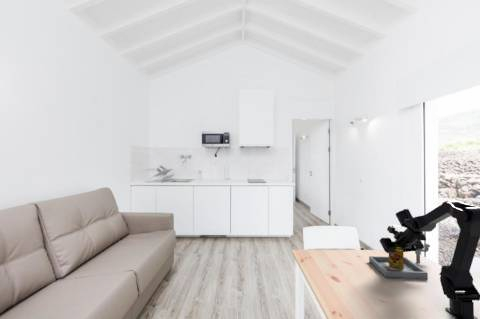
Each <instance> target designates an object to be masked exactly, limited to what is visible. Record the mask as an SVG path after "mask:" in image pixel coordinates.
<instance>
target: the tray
mask: <svg viewBox="0 0 480 319" xmlns="http://www.w3.org/2000/svg"><path fill="white" fill-rule="evenodd" d="M368 262H369V264H370V265H371V266H372V267H374V269H376V270H377V271H378V272H379V273H380V274H381V275H382V276H383V277H384V278H385V279H398V280H399V279H400V280H401V279H404V280H428V278H429V277H428V276H429V275H428V272H427V271H426V270H424V269H423V268H422V267H420V266H418V265H417V264H416V263H414V262H413V261H411V260H410V259H409V258H408V257H406V256H404V268H406V269H407V270H408V271H406V270H391V269H390V268H389V267H388V266H387V265H386V264H385V263H389V256H375V255H374V256H368Z"/></svg>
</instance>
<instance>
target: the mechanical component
mask: <svg viewBox="0 0 480 319" xmlns="http://www.w3.org/2000/svg"><path fill="white" fill-rule="evenodd" d="M423 245H424V248H423V249H422V250H416V251H414V253H415V255H416V256H415V258H416V263H417V264H421V255H422V253H421V252H423V253H427V252H429V250H430V244H429V243H424V244H423ZM415 248H416V246H415Z"/></svg>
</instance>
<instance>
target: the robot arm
mask: <svg viewBox="0 0 480 319" xmlns="http://www.w3.org/2000/svg"><path fill="white" fill-rule="evenodd" d="M395 217H396V218H397V220H398V223H399V224H390V225H389V226H387V228H386V229H387V232H388V233H390V234H392V235H393V238H394V241H395V242H392V239H391V238H390V237H381V238H380V239H379V243H380V246H382V248H383V250H384V252H386V254H389V253H393V252H396V250H395V249H396V248H400V247H401V249H403V253H408V252H415V251H416V250H422V249H425V248H424V245H425V244H423V242H422V241H427V238H426V234H424V233H425V232H432V231H433V230H435V229H436V227H437V224H438V223H440V222H442V221H444V220H446V219H447V218H450V217H452V218H453V219H456V224H457V226H458V228H459V234H458V238H457V240H456V244H455V248H454V251H453V256H452V259H451V263H450V264H449V265H448V264H447V265H442V266H441V268H440V269H441V270H440V273H439V274H438V275H439V276H440V277H439V280H440V285H441V288H442V293H443V295H445V296H446V298H447V299H448V301H449V307H445V310H446V311H447V312H448V313H449V314H450V315H452V316H453V317H454V318H455V319H479V318H478V317H477V316H475V314H474V313H475V312H474V310H475V308H474V306H475V305H474V303H475V302H473V301H480V292H479V290H478V289H477V287H476V286H475V285H474V278H473V276H472V273H471V272H470V271H471V267H472V264H473V260H474V257H475V255H476V250H477V247H478V244H479V242H480V206H476V205H472V204H467V203H465V202H461V201H458V200H445V201H443V202H442V203H441V204H440V205H439V206H437V207H435V208H434V209H431V210H430V211H429V212H428V213H426V214H423V215H418V216H414V217H413V215H412V213H411V211H410V210H409V208H404V209H401V210H400V211H398V212H396V213H395ZM415 246H416V248H415Z"/></svg>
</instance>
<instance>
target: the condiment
mask: <svg viewBox="0 0 480 319" xmlns="http://www.w3.org/2000/svg"><path fill="white" fill-rule="evenodd" d="M391 241H392V240H391ZM392 242H395V240H394V241H392ZM395 250H396V252H393V253H388V257H389V263H385V264H386V265H387V266H388V267H389V268H390V269H391V270H406V271H408V270H407V269H406V268H404V257H405V256H404V252H403V249H401V247H400V248H396V249H395Z"/></svg>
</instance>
